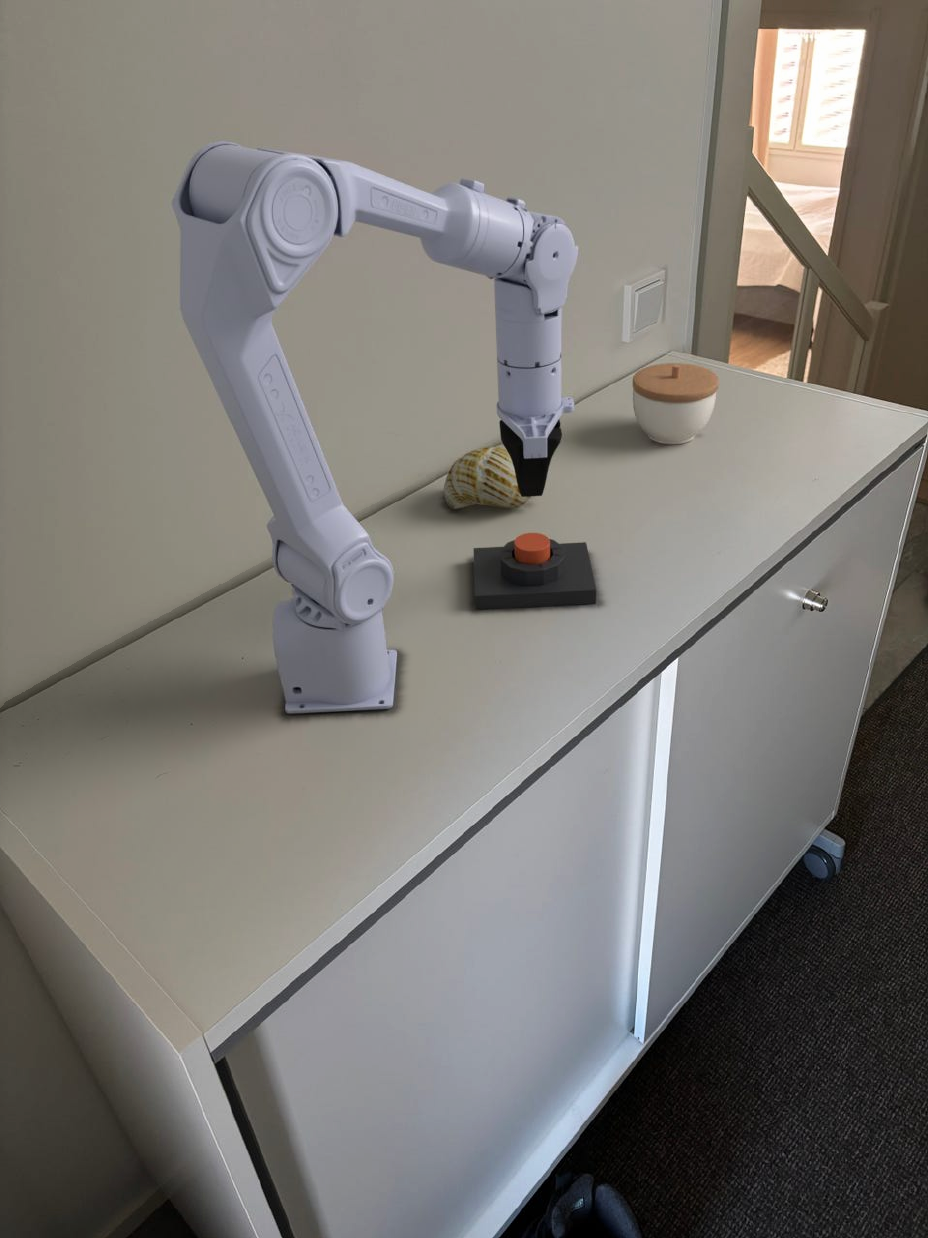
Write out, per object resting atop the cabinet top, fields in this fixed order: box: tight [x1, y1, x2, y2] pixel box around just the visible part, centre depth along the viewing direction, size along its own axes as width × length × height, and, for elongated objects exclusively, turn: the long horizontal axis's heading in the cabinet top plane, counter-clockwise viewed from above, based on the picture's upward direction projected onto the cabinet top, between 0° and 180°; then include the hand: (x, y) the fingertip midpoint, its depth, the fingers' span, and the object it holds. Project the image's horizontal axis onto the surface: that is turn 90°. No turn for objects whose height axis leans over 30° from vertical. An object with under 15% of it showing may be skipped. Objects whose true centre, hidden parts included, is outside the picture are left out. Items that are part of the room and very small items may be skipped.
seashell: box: [443, 443, 532, 510], centre depth 108 cm, size 10×10×10 cm
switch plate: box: [473, 538, 597, 611], centre depth 94 cm, size 12×9×4 cm
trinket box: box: [632, 362, 720, 445], centre depth 119 cm, size 11×11×9 cm
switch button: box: [514, 532, 550, 565], centre depth 93 cm, size 4×4×2 cm
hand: (531, 493), depth 89 cm, fingers closed
